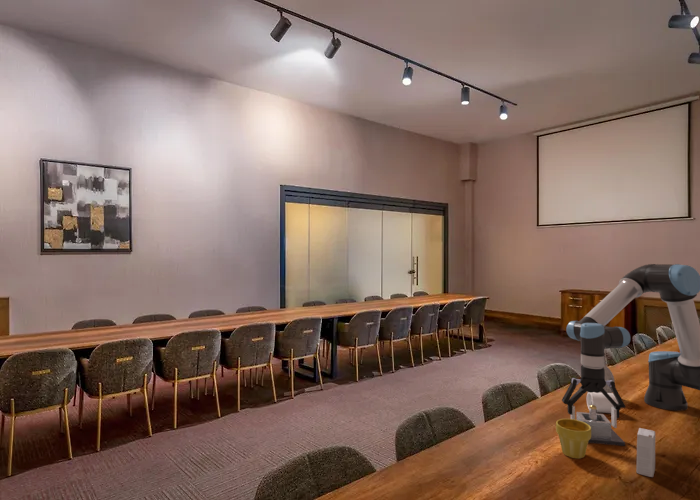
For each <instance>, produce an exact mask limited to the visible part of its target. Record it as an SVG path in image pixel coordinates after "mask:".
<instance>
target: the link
mask: <svg viewBox="0 0 700 500" xmlns="http://www.w3.org/2000/svg"><path fill="white" fill-rule="evenodd" d="M576 420H579V421H582V422H585V423H587V424H588V425H590V427H591V437H594V438H604V439H611V429H612V425H611V421H610V420H609V419H608V417H606V415H605V413H597V421H593V420H589V412H583V411H576Z"/></svg>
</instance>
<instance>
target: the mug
mask: <svg viewBox="0 0 700 500" xmlns="http://www.w3.org/2000/svg"><path fill="white" fill-rule="evenodd" d="M586 393H587V394H586V405H587V408H588V410H589V407H590V405H595V406H596V407H597V413H598V414H611V407H614V406H613V405H612V404H611V402H610V401H609V400H608V399H607V398H606V397H605V396H604V395H603V394H602V393H595V392H586ZM608 394H609V396H610V397H611V398H612V399H613V400H614V401H615V402H616V403H617V404H618V401H617V400H616V398H615V396H614V394H613V392H612V393H608Z"/></svg>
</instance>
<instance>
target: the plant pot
mask: <svg viewBox="0 0 700 500" xmlns="http://www.w3.org/2000/svg"><path fill="white" fill-rule="evenodd" d="M555 432H556V433H557V435H558V437H559V443H560V447H561V451H562V454H563V455H565V456H566V457H569V458H572V459H583V458H585V456H586V451H587V447H588V444H589V443H588V441H589V440H590V439H591V427H590V425H588V424H587V423H585V422H582V421H579V420H577V419H576V418H575V419H571V418H559V419H558V420H556V421H555Z"/></svg>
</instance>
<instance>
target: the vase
mask: <svg viewBox="0 0 700 500" xmlns="http://www.w3.org/2000/svg"><path fill="white" fill-rule="evenodd" d="M603 368H604V369H605V381H609V380H612V381H614V382H615V377H614V374H613V372H612V371H611V369H610V368H609V367H608V366H607V365H606V364H605V366H604V367H603ZM603 389H604V390H605V391H606V392H607V393H613V392H612V390H611V389H610V387H609V386H608V385H607V384H606V385H605V387H604V388H603ZM586 393H588V391H587V392H586ZM599 393H602V392H601V391H600V392H599Z"/></svg>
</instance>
